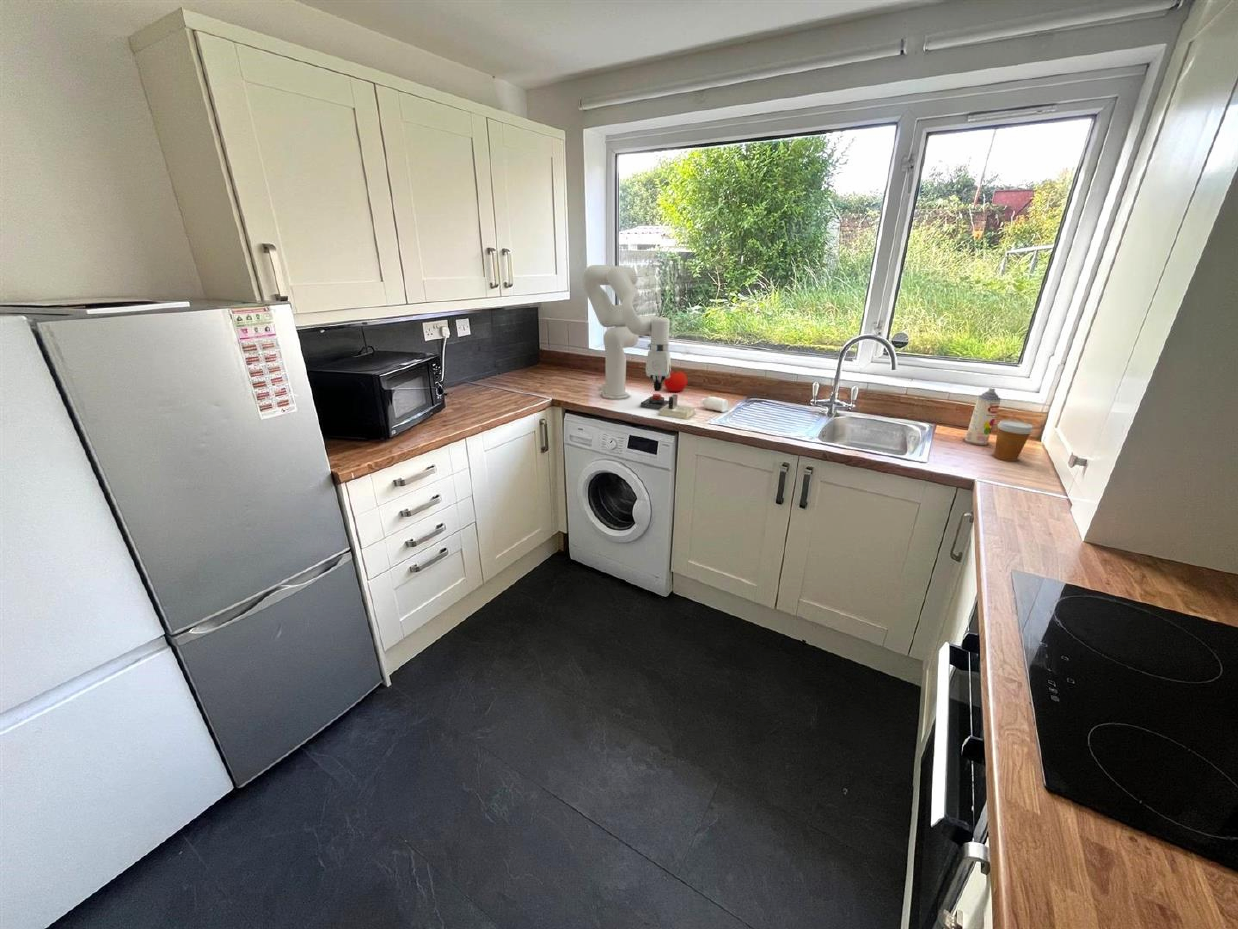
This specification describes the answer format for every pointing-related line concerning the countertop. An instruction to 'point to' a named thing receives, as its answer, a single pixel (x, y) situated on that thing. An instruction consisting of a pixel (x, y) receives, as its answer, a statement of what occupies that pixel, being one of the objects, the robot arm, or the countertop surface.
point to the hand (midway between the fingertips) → (657, 390)
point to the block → (654, 403)
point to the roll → (715, 403)
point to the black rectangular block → (673, 401)
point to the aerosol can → (983, 418)
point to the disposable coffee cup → (1011, 439)
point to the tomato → (676, 381)
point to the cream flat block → (677, 411)
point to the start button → (656, 396)
